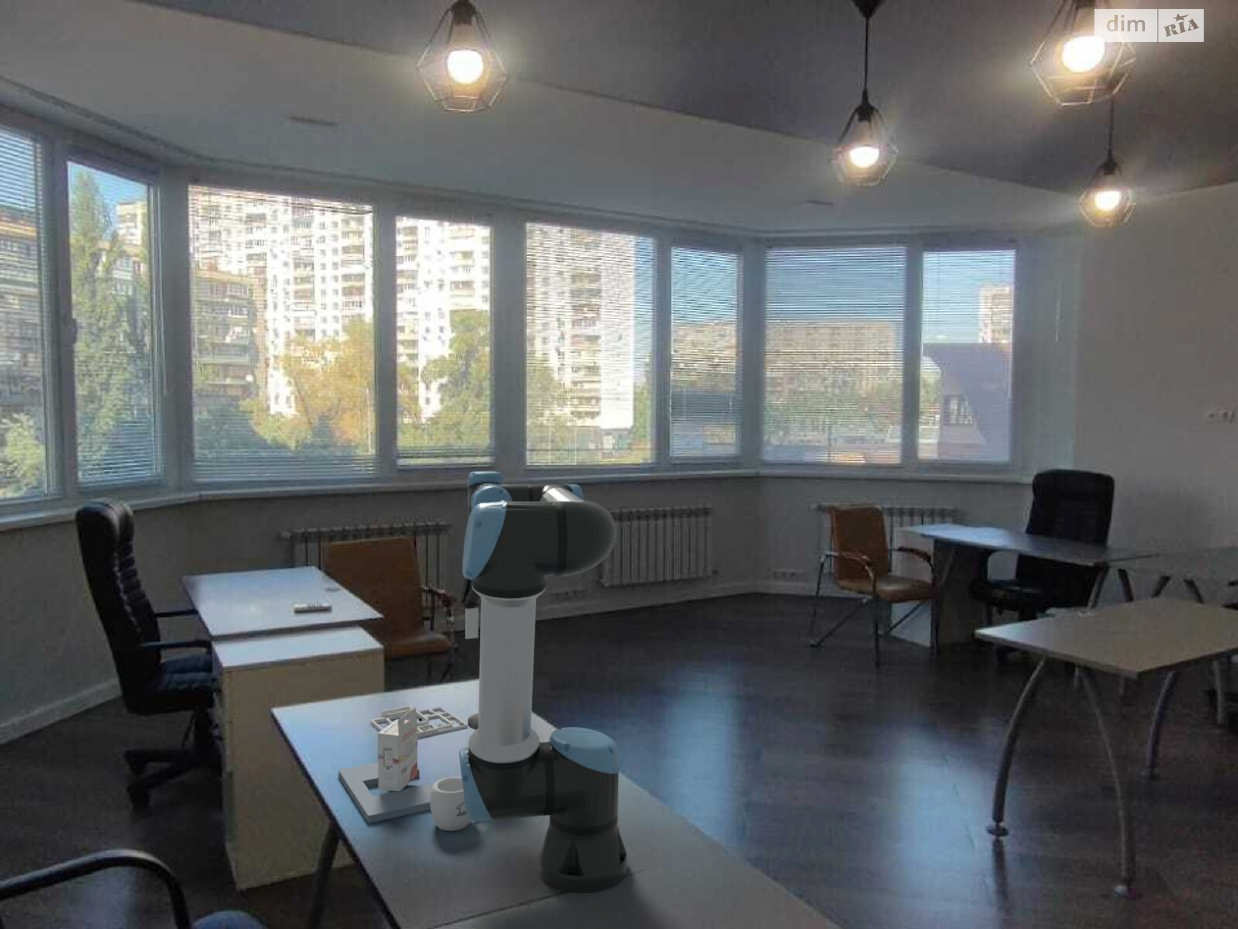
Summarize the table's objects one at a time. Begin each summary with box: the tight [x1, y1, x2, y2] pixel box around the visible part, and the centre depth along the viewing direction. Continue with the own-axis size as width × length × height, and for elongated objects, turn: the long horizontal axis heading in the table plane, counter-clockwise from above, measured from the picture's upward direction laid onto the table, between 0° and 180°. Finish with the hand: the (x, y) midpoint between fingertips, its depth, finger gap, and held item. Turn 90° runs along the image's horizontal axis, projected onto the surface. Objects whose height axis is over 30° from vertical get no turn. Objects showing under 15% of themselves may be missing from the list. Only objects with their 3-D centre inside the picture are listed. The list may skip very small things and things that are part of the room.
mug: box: [430, 776, 472, 832], centre depth 163 cm, size 12×8×8 cm
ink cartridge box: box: [377, 707, 418, 792], centre depth 176 cm, size 9×5×15 cm, turn 168°
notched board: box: [338, 761, 434, 824], centre depth 176 cm, size 24×15×2 cm, turn 31°
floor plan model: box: [370, 705, 469, 739], centre depth 213 cm, size 19×25×2 cm
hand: (484, 645), depth 182 cm, fingers open, 13 cm apart
